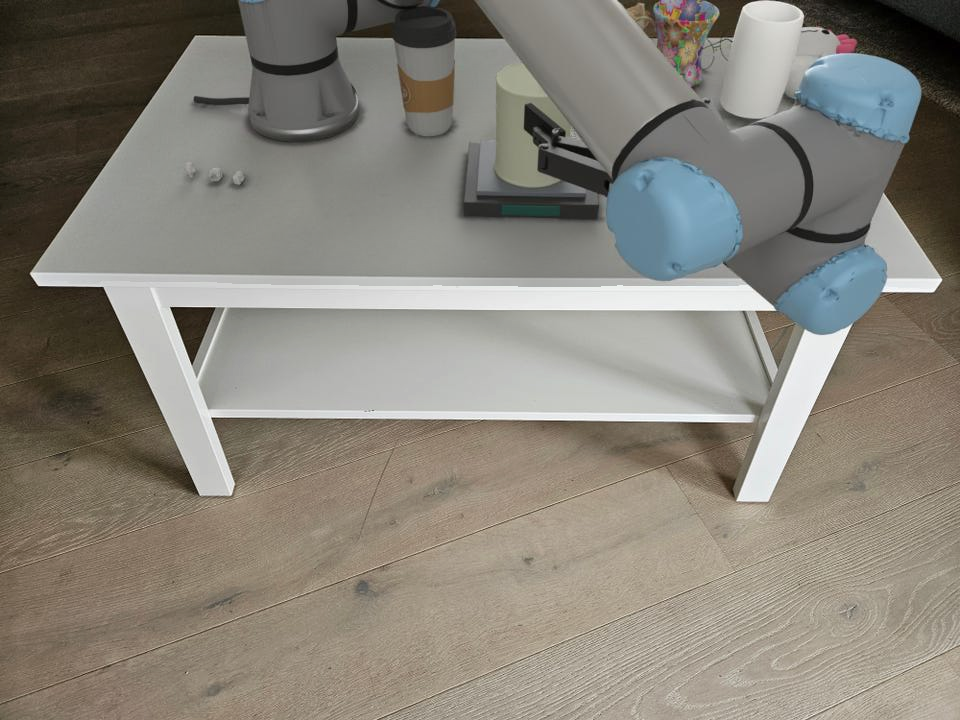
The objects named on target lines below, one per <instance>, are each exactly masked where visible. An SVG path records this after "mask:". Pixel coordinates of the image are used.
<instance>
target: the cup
mask: <svg viewBox="0 0 960 720" xmlns="http://www.w3.org/2000/svg"><path fill="white" fill-rule="evenodd" d="M804 18H805V15H804V12H803V10H801V9H800V8H799V7H797V6H796V5H793V4H790V3H787V2H782V1H776V0H757V1H751V2H749V3H746V4H745V5H744V6H742V9H741V12H740V15H739V18H738V21H737V24H736V27H735V31H734V34H733V37H732V41H733V42H731V45H730V46H731V47H730V49H729V55H728V59H727V60H728V61H727V63H726V69H725V72H724V73H725V74H724V79H723V85H722V91H721V97H720V105H721V107H722V108H723V109H724V111H726V112H727V113H729V114H731V115H734V116H736V117H741V118H744V119H745V118H747V119H754V120H755V119H756V120H757V119H759V120H760V119H764V118H767V117H770V116H772V115H775V114H777V113H778V110H779V107H780V105H781V102H782V99H783V96H784V94H785V93H784V91H785V88H786V85H787V82H788V79H789V76H790V72H791V69H792V66H793V62H794V59H795V56H796V52H797V48H798V44H799V39H800V35H801V30H802V28H803V26H804V25H803V24H804Z"/></svg>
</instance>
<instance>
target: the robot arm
mask: <svg viewBox="0 0 960 720" xmlns="http://www.w3.org/2000/svg"><path fill="white" fill-rule="evenodd" d="M440 1H441V0H237V2H238V7H239V11H240V16H241V21H242V26H243V30H244V36H245V38H246V44H247V48H248V53H249V57H250V62H251V66H252V67H251V68H252V71H251V78H250V79H251V80H250V87H249V95H248V97H246V96H244V97H221V98H219V97H218V98H217V97H207V96H199V95H194V96H193V102H194V103H197V104H202V105H211V106H231V105H247V106H248V107H247V111H248V117H249V120H250V125H251V126H252V128H253V129H254V131H256V133H258V134H260V135H261V136H263V137H266V138H269V139H271V140H275V141H281V142H288V143H289V142H290V143H302V142H305V143H306V142H312V141H318V140H323V139H327V138H330V137H332V136H335V135H337V134H340V133H343V132H344V131H346V130H347V129H348V128H350V127H352V125H353V124H354V123H355V122H356V121H357V119H358V117H359V114H360V111H359V110H360V109H359V100H358V97H359V95H358V93H357V90H356V88H355V87H354V85H353V83H352V82H351V80H350V79H349V77H348V75H347V72H346V70H345V69H344V66H343V65H342V62H341V60H340V56H339V50H338V41H337V40H338V39H337V37H339V36H342V35H344V34H349V33H352V32H358V31H361V30H365V29H369V28H373V27H377V26H382V25H386V24H390V23H395V16H396V14H397V13H399V12H400V11H402V10H405V9H409V8H413V7H420V6H431V7H437V5H438V4H439V3H440ZM474 2H475V3H476V5H477V6H478V7H479V8H480V10H481V11H482V12H483V14H484V15H485V16H486V17H487V19H488V20H489V22H490V23H491V24H492V25H493V26H494V28H495V29H496V30H497V32H498V33H499V34H500V36H501V37H502V38H503V40H504V41H505V42H506V43H507V45H508V46H509V47H510V48H511V50H512V51H513V52H514V54H515V55H516V56H517V58H518V59H519V61H520V62H522V63H523V64H524V65H525V67H526V68H527V69H528V71H529V72H530V73H531V74H532V76H533V77H534V78H535V80H536V81H537V82H538V84H539V85H540V86H541V87H542V89H543V90H544V91H545V93H546V94H547V95H548V97H549V98H550V99H551V100H552V102H553V103H554V104H555V106H556V107H557V108H558V110H559V111H560V112H561V113H562V115H563V116H564V117H565V119H566V120H567V121H568V123H569V124H570V125H571V129H573V131H574V132H575V134H576V135H577V136H578V137H579V138H580V139H577V138H572V137H570V138H568V137H565V135H566V131H565V130H564V129H563V128H561V127H560V126H559V125H558V124H557V123H555V122H554V121H553V120H552V119H550V118H549V117H548V116H547V115H546V114H544V113H543V112H542V111H541V110H539V109H538V108H537V107H536V106H534V105H533V104H532V103H528V104H525V108H524V130H525V131H526V132H527V133H529V134H530V135H531V136H532V137H533V143H534V144H535V145H536V146H537V147H538V167H537V170H538V172H540V173H543V174H546V175H549V176H551V177H554V178H557V179H560V180H562V181H565V182H568V183H571V184H573V185H576V186H579V187H581V188H584V189H587V190H590V191H592V192H595V193H598V195H601V196H604V197H605V198H606V200H605V201H606V202H605V220H606V226H607V229H608V230H609V231H610V232H611V233H612V234H613V236H614V240H615V242H614V248H615V249H616V252H617V253H618V255H619V256H620V257H621V259H622V260H623V262H625V263H626V265H627V266H629V268H631V269H632V270H633V271H635V272H636V273H638V275H640V276H642V277H644V278H646V279H649V280H653V281H657V282H670V281H674V280H678V279H681V278H684V277H687V276H690V275H692V274H696V273H698V272H702V271H704V270H707V269H711V268H716V267H718V266H720V265H722V264H723V265H724V266H725V267H726V268H728V269H729V270H730V271H732V272H733V273H734V274H735V275H736V276H737V277H738V278H740V279H741V280H742V281H743V282H744V283H746V285H748V286H749V287H750V288H751V289H752V290H754V291H755V292H756V293H757V294H758V295H759V296H761V297H762V298H763V299H764V300H765V301H766V302H768V303H769V304H770V305H771V306H772V307H773V309H774V310H775V311H776V312H777V313H781V314H782V315H784V316H785V317H786V318H788V319H789V320H791V321H792V322H793V323H795V324H796V325H798V326H799V327H801V328H803V329H804V330H806V331H807V332H809V333H811V334H814V335H817V336H826V335H827V336H828V335H832V334H836V333H838V332H840V331H841V330H845V329H847V328H849V327H850V326H851V325H853V324H854V323H855V322H857V321H858V320H859V319H860V318H862V316H864V315H865V314H866V313H867V312H868V311H869V310H870V309H871V308H872V306H873V305H874V304H875V303H876V301H878V299H879V297H880V296H881V294H882V293H883V291H884V288H885V286H886V283H887V281H888V274H887V272H888V264H887V262H886V260H885V259H884V257H882V256H881V255H880V254H878V253H877V252H876V251H875V248H874V247H872V246H870V245H868V244H866V243H865V242H866V239H867V236H868V234H869V231H870V229H871V225H872V223H871V222H872V220H873V217H874V216H875V213H876V211H877V209H878V207H879V205H880V202H881V200H882V197H883V196H884V193H885V191H886V188H887V186H888V184H889V182H890V179H891V177H892V174H893V172H894V170H895V168H896V165H897V163H898V161H899V159H900V156H901V154H902V153H903V149H904V148H905V145H906V144H907V143H908V142H909V141H910V138H911V137H910V134H909V133H910V132H911V128H912V126H913V123H914V120H915V116H916V114H917V111H918V108H919V105H920V103H921V99H922V87H921V84H920V82H919V81H918V79H917V77H916V75H914V74H913V73H912V72H911V70H909V69H907V68H906V67H904V66H902V65H900V64H898V63H896V62H894V61H891V60H889V59H887V58H883V57H879V56H875V55H870V54H865V53H864V54H863V53H853V52H851V53H842V54H834V55H829V56H825V57H822V58H820V59H818V60H816V61H815V62H813V63H812V65H811V66H810V67H809V68H808V69H807V70H806V71H805V74H804V76H803V79H802V81H801V84H800V86H799V88H798V89H797V92H795V94H794V98H795V99H794V101H793V105H792V106H791V108H790V109H786V110H783V111H780V112H777V113H775V114H774V115H772V116H770V117H766V118H761V119H759V120H756V121H754V122H750V123H749V124H745V125H742V126H740V127H737V128H735V129H731V130H729V129H728V128H727V126H726V123H725V121H724V119H723V117H722V114H721V113H720V111H719V110H718V107H717V105H716V104H715V102H714V100H713V99H711V98H709V97H704V98H700V96H699V95H698V94H697V93H696V92H695V91H694V89H693V87H690V86H689V85H688V83H687V82H686V81H685V80H684V79H683V78H682V76H681V75H680V74H679V73H678V72H677V70H676V69H675V68H674V67H673V66H672V65H671V63H670V62H669V61H668V60H667V59H666V57H665V56H664V55H663V54H662V53H661V52H660V50H659V49H658V48H657V45H656V44H655V43H654V42H653V40H651V38H650V37H649V36H648V35H647V34H646V33H645V31H644V30H642V29H641V28H640V27H639V26H638V24H637V23H636V22H635V21H634V20H633V18H632V17H631V16H630V15H629V14H628V13H627V11H626V10H625V9H626V8H625V7H624V8H625V9H624V8H623V7H622V5H623V4H622V3H621V2H620V1H619V0H474ZM620 3H621V4H622V5H621V4H620Z"/></svg>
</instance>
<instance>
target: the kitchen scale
mask: <svg viewBox="0 0 960 720" xmlns="http://www.w3.org/2000/svg"><path fill="white" fill-rule="evenodd" d="M495 157H496V140H485V139H481V140H480V142H471V141H470V142H469V143H468V152H467V162H466V173H465V181H464V182H465V184H464V191H463V192H464V194H463V204H462V205H463V217H480V218H481V217H488V218H527V219H529V218H532V219H533V218H534V219H535V218H537V219H538V218H539V219H576V220H577V219H579V220H580V219H581V220H585V219H586V220H597V219H598V216H599V209H600V208H599V207H600V203H599V202H600V201H599V194H598V193H595V192H592V191H590V190H587V189H584V188H581V187H579V186H576V185H573V184H571V183H568V182H565V181H562V180H561V181H559V182H557V183H555V184H553V185H550V186H546V187H538V188H527V187H520V186H516V185H512V184H510V183H507V182H506V181H504V180H502V179H501V178H500V177H499V176H498V175H497V174H496V172H495V169H494V163H495Z"/></svg>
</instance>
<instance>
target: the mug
mask: <svg viewBox="0 0 960 720" xmlns="http://www.w3.org/2000/svg"><path fill="white" fill-rule="evenodd" d="M652 10H653V14H654V18H655V19H653V18H651V17H650V16H648V17H647V16H642V17H639V18H637V19H636V20H635V22H636V23H637V22H638V21H640V20H647V21H650V24H651V25H652V27H653V29H654V33H657V35H656V47H657V48H658V49H659V50H660V52H661V53H662V54H663V55H664V56H665V57H666V59H667V60H668V61H669V62H670V63H671V65H672V66H673V67H674V68H675V69H676V70H677V72H678V73H679V74H680V75H681V76H682V78H683V79H684V80H685V81H686V82H687V83H688V85H689V86H690V87H691V88H693V87H696V86H698V85H699V84H701V82H702V81H703V79H704V74H703V70H702V69H703V68H702V54H703V50H704V49H703V48H704V46H705V43H706V40H707V39H706V38H707V37H708V35H709V33H710V31H711V29H712V27H713V25H714V24H715V22H716V21H717V19H718V18H719V17H720V10H719V8H718V7H717V6H716V5H714V4H713V3H711V2H709V1H707V0H659V1H657V2H656V3H655V4H654V5H653V7H652Z"/></svg>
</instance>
